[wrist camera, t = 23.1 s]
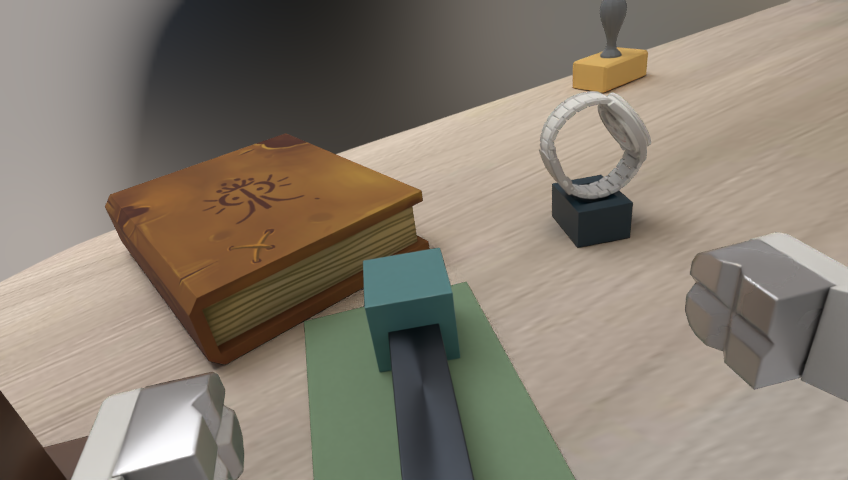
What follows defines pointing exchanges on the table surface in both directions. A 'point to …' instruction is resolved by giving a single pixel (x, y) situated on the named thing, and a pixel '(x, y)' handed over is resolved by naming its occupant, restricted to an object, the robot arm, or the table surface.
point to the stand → (33, 451)
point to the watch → (597, 196)
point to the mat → (375, 408)
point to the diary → (262, 238)
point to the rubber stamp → (610, 56)
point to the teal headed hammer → (418, 360)
